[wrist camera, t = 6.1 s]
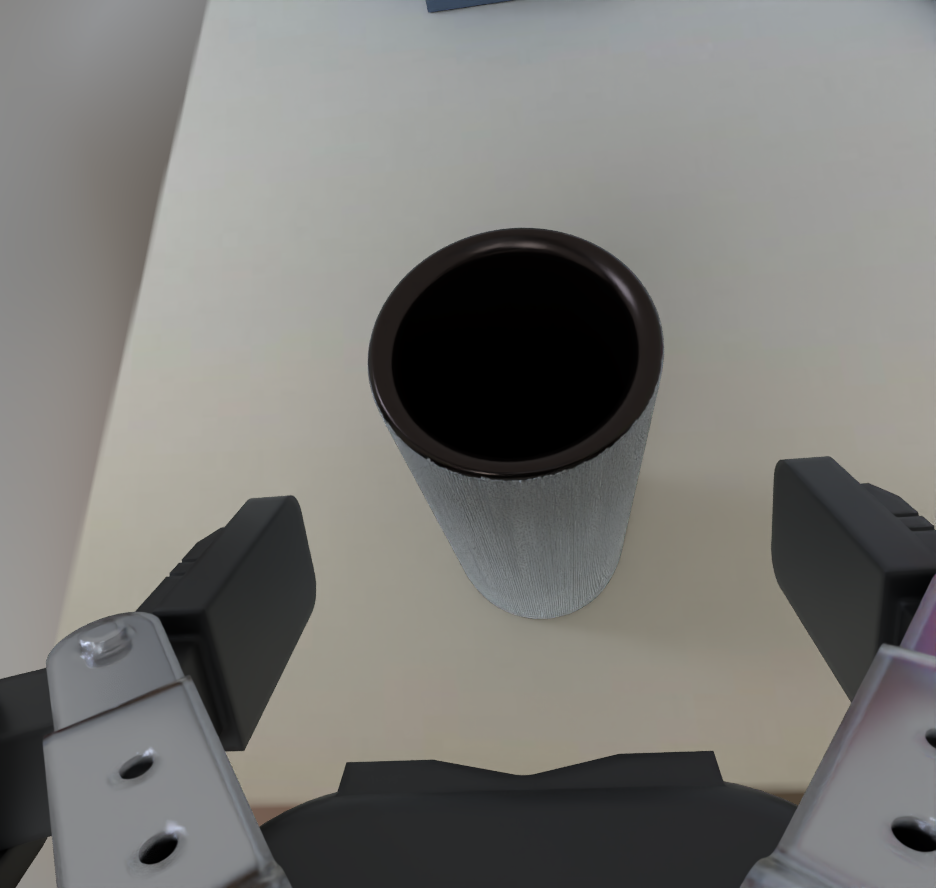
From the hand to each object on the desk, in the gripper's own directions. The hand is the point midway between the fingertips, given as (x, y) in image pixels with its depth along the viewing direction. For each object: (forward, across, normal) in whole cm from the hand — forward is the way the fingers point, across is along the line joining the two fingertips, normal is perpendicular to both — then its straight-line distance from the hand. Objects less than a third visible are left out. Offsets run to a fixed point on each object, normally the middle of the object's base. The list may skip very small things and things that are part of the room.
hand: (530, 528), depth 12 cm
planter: (+7, 0, +4) cm, 8 cm away
